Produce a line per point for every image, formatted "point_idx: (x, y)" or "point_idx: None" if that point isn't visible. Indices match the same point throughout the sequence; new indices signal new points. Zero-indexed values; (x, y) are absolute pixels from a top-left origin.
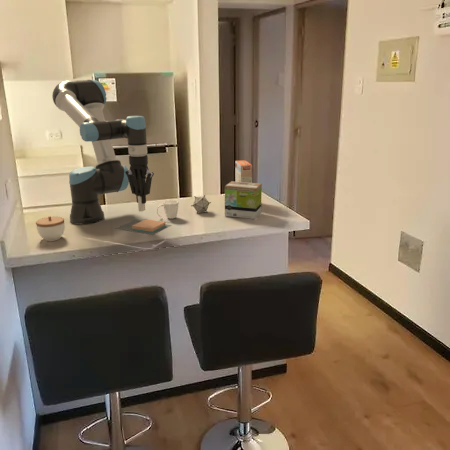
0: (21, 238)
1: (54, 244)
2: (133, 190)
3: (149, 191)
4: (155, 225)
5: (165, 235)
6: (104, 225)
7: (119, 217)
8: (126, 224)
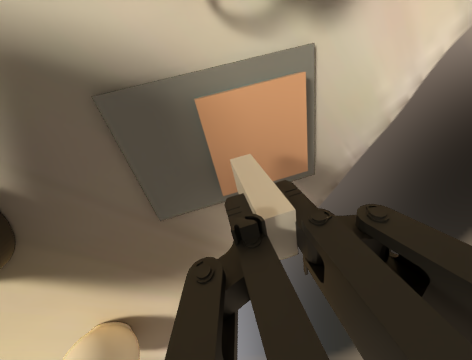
0: None
1: (158, 332)
2: (235, 334)
3: (412, 228)
4: (296, 137)
5: (339, 141)
6: (77, 217)
7: None
8: (145, 168)
